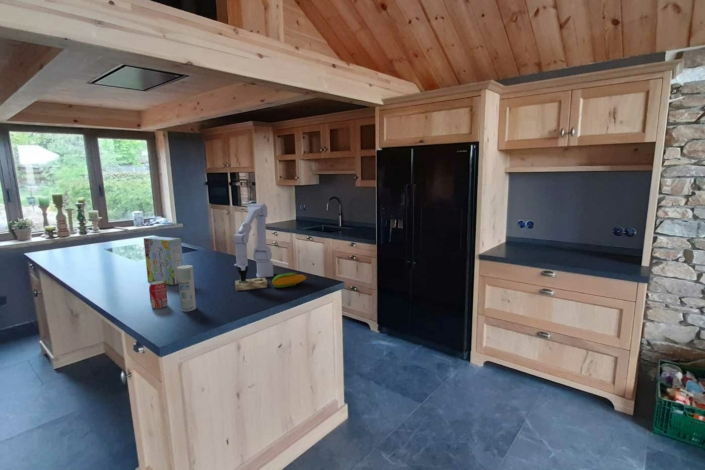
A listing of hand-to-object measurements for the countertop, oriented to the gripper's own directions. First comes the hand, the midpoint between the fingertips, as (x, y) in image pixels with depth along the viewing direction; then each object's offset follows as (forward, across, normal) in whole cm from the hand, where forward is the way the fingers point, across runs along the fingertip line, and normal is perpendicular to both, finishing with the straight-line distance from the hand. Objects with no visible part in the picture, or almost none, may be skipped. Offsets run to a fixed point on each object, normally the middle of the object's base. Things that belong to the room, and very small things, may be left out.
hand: (243, 280), depth 201 cm
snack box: (+5, -29, -41) cm, 50 cm away
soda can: (+5, +15, -39) cm, 42 cm away
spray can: (+5, +23, -26) cm, 35 cm away
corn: (+5, +5, +24) cm, 25 cm away
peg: (+3, 0, 0) cm, 3 cm away
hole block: (+4, 0, +4) cm, 6 cm away
